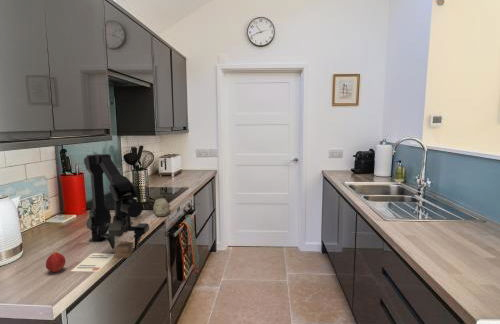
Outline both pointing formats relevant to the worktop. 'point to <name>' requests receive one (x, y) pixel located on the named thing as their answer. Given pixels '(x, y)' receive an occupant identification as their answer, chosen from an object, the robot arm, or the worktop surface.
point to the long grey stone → (161, 207)
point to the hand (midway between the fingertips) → (124, 248)
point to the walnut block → (124, 249)
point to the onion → (55, 262)
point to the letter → (93, 262)
